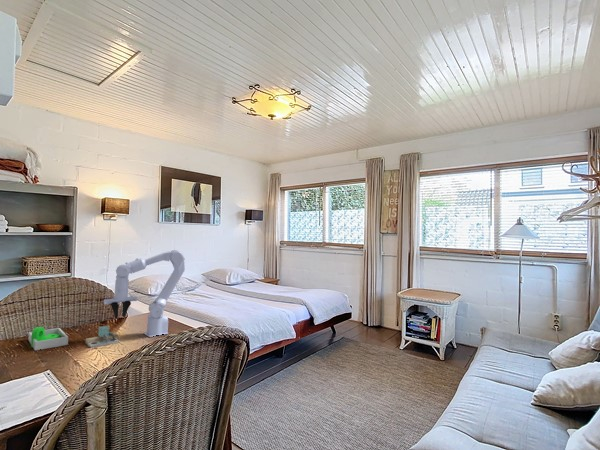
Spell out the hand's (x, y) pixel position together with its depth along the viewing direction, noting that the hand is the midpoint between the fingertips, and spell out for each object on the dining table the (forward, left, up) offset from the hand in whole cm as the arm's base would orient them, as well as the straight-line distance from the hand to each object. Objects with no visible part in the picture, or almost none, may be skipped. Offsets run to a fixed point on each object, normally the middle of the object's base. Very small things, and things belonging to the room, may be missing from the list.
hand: (119, 317), depth 158 cm
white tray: (+26, -12, -10) cm, 30 cm away
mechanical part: (+26, -12, -10) cm, 30 cm away
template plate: (+8, +5, -10) cm, 14 cm away
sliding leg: (+7, +2, -8) cm, 11 cm away
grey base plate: (+7, +2, -10) cm, 12 cm away
